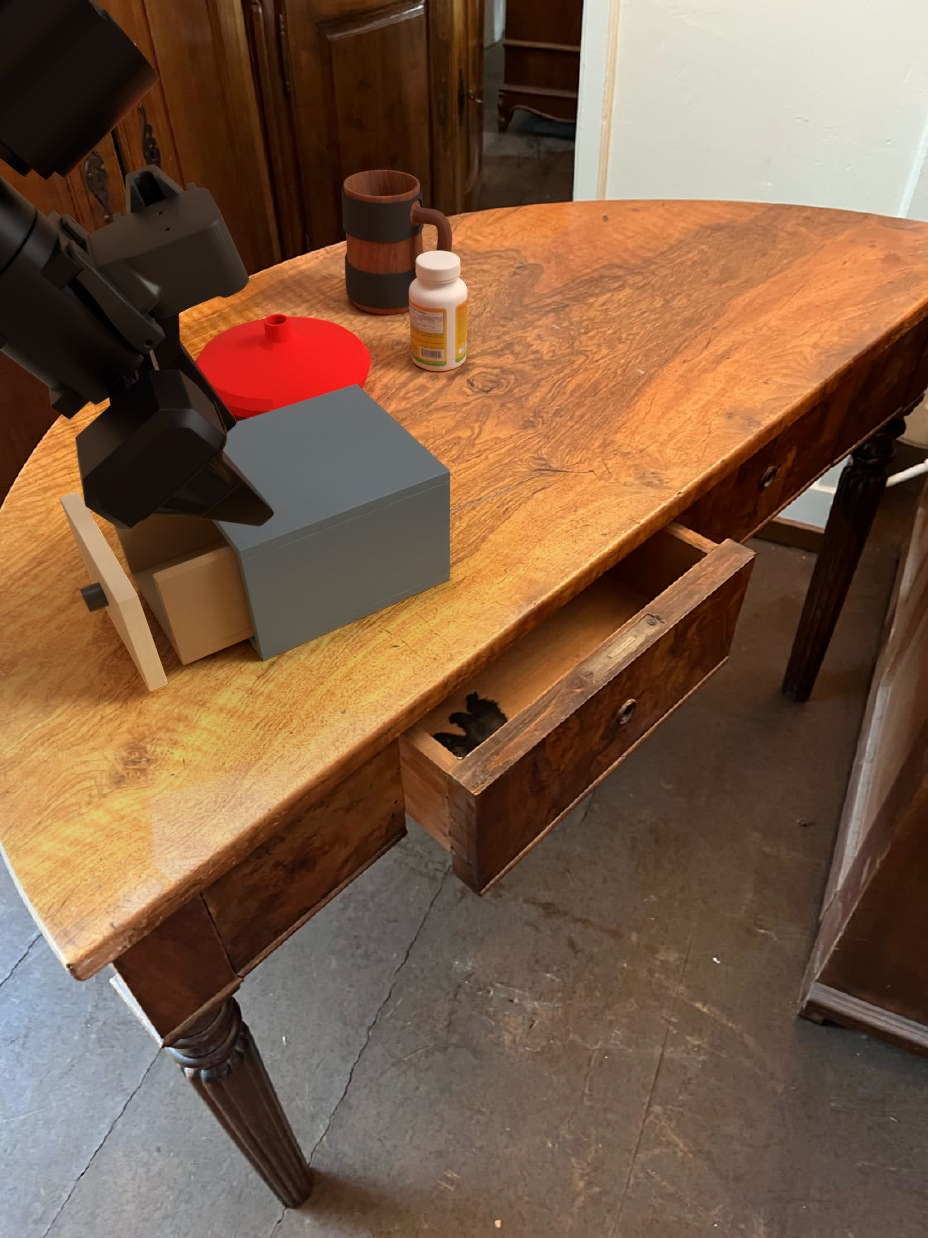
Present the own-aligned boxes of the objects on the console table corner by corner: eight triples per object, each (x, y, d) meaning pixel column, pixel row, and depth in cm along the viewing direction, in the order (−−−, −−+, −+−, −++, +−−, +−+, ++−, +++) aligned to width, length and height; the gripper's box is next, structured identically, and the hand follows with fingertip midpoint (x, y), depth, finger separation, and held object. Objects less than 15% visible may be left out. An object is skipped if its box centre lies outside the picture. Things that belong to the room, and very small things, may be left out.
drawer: (131, 700, 55) (95, 611, 49) (76, 592, 61) (39, 502, 56) (343, 609, 60) (332, 520, 55) (271, 520, 67) (256, 432, 62)
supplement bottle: (451, 340, 89) (452, 242, 82) (476, 365, 85) (478, 265, 78) (402, 351, 87) (398, 252, 80) (425, 377, 84) (422, 276, 77)
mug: (431, 332, 90) (429, 213, 81) (331, 305, 93) (319, 189, 85) (469, 297, 95) (472, 182, 87) (373, 273, 99) (367, 161, 91)
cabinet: (263, 661, 58) (238, 550, 51) (191, 554, 66) (162, 445, 59) (450, 579, 64) (450, 470, 57) (365, 489, 71) (356, 383, 65)
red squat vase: (273, 464, 74) (260, 388, 69) (164, 393, 81) (145, 320, 76) (408, 391, 82) (406, 318, 77) (298, 332, 89) (289, 263, 84)
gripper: (161, 199, 30) (418, 467, 41) (102, 66, 42) (312, 300, 53) (-63, 417, 32) (243, 615, 43) (-57, 228, 44) (179, 421, 55)
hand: (248, 470), depth 49 cm, fingers open, 9 cm apart
